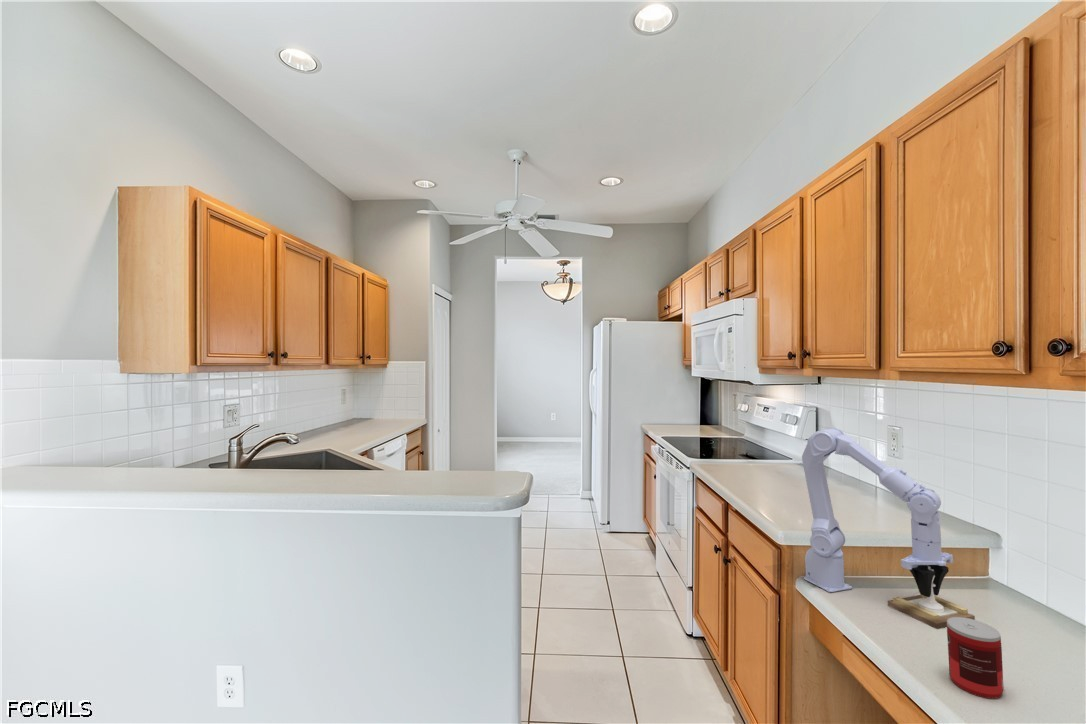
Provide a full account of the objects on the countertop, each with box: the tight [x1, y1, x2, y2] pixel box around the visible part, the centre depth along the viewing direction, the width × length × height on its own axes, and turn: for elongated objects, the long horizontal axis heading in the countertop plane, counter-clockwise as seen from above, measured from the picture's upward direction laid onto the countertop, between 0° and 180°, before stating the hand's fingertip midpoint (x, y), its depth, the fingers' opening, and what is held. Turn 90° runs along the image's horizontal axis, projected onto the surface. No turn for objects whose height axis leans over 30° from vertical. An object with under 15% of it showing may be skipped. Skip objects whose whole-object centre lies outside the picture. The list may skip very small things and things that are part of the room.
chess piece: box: [919, 566, 944, 612], centre depth 118 cm, size 5×5×10 cm
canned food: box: [946, 617, 1005, 699], centre depth 91 cm, size 8×8×11 cm
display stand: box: [887, 594, 976, 630], centre depth 119 cm, size 12×12×2 cm
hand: (928, 594), depth 119 cm, fingers open, 2 cm apart
